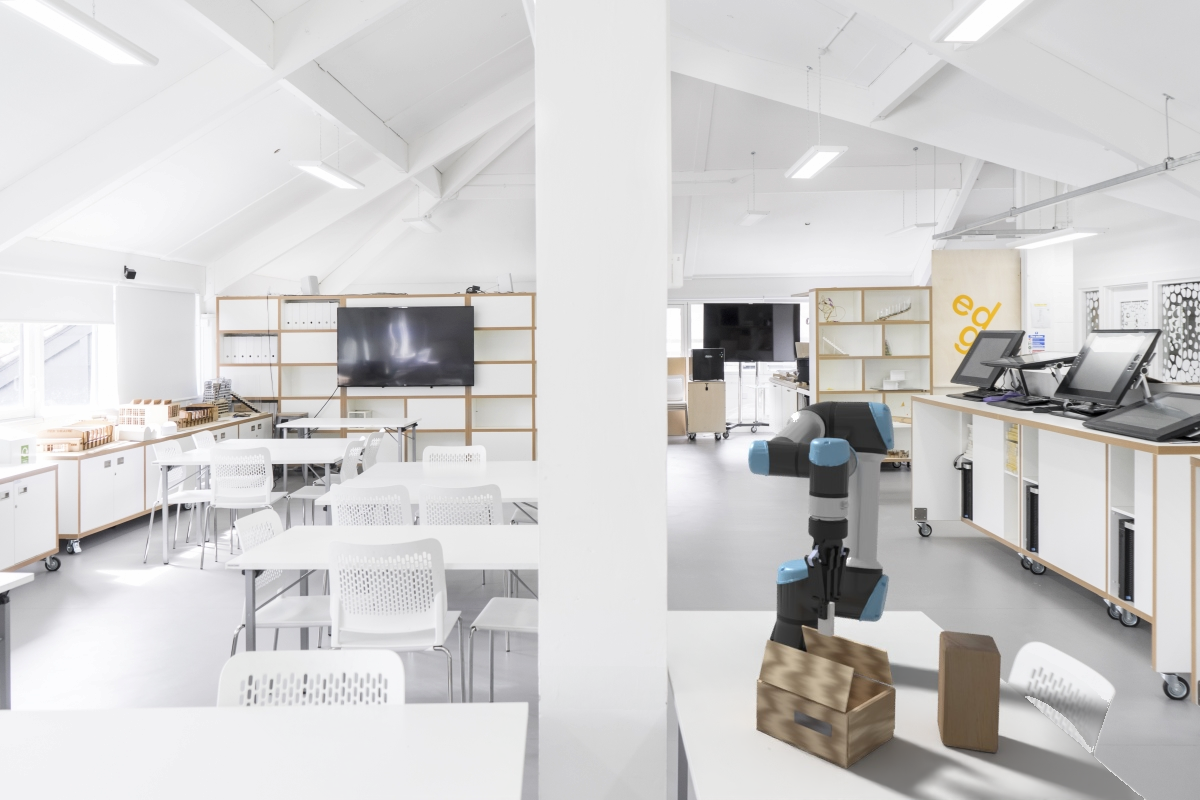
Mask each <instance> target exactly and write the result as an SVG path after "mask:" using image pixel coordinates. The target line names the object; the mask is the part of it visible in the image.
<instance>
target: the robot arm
mask: <svg viewBox="0 0 1200 800" xmlns="http://www.w3.org/2000/svg"><path fill="white" fill-rule="evenodd" d="M894 448H895V435H894V425H893V419H892V412H891V409H890V407H889V405H887V404H885V403H882V402H874V401H833V400H828V401H820V402H816V403H812V404H809V405H807V406H805V407H802V408H800V409H798V410H797V411H796V412H794V413H793V414H792V415H791V416H789V419H788V420H787V422H786V426H785V427H783V429H781V431H779V432H778V433H777V434H776V435H775V436H774V437H773V438H771V439H770V440H766V439H763V440H754V441H752V442H751V443H750V446H749V448H748V454H747V455H748V457H747V458H748V459H747V460H748V468H749V470H750V472H751V473H752V474H753V475H760V476H765V477H768V476H770V477H784V478H785V477H786V478H800V479H809V483H808V484H809V485H808V486H809V490H808V492H809V493H808V514H809V515H810V516H809V517H808V521H807V522H808V527H807V529H808V531H807V534H808V535H809V536H810V537H812V539H813V543H812V546H811V550H812V551H811V553H810V554H809V555H808V554H805V555H804V558H800V559H799V558H796V559H792V560H787V561H785V562H783V563H781V564H780V565H779V566H778V569H777V575H776V576H777V577H776V580H775V582H776V620H775V623H774V625H773V629H772V632H771V634H770V637H769V640H771V641H774V642H777V643H780V644H783V645H786V646H789V647H792V648H795V649H798V650H801V651H804V652H807V649H806V644H805V640H804V635H803V630H802V625H804V626H807V627H810V628H813V629H817V630H818V633H819V634H822V635H826V636H829V637H831V636H833V635H835V618H842V619H849V620H855V621H858V622H875V623H877V622H878V621H880V619H881V618H882V616H883V613H884V610H885V605H886V601H887V600H886V599H887V596H888V589H889V581H890V577H889V576H888V575H887V574H885V573H883V572H884V571H883V568H884V567H883V566H882V564H881V563H880V562H879V561H878V559H877V558H878V557H877V556H878V535H879V534H878V532H879V530H878V529H879V510H880V509H879V508H880V507H879V506H880V486H881V485H880V484H881V483H880V481H881V465H882V462H883V461H885V459H886V458H888V451H891V450H894Z"/></svg>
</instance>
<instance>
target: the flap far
mask: <svg viewBox="0 0 1200 800" xmlns="http://www.w3.org/2000/svg"><path fill="white" fill-rule="evenodd" d="M802 630H803V635H804V640H805V644H806V649H807V653H810V654H813V655H816V656H819V657H822V658H824V659H827V660H830V661H833V662H836V663H839V664H842V665H845V666H848V667H851V668H854V672H853V674H856V675H859V676H862V677H865V678H868V679H871V680H874V681H876V682H879V683H882V684H885V685H888V686H893V685H894V682H893V676H892V672H891V666H890V665H891V664H890V661H889V655H888V650H886V649H882V648H878V647H876V646H872V645H869V644H866V643H862V642H859V641H857V640H856V641H855V640H852V639H849V638H845V637H843V636H840V635H839V636H838V635H836V634H834V635H833V636H831V637H829V636H826V635H822V634H819V633H818V630H817V629H813V628H810V627H807V626H804V625H802Z"/></svg>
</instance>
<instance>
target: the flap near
mask: <svg viewBox="0 0 1200 800" xmlns="http://www.w3.org/2000/svg"><path fill="white" fill-rule="evenodd" d="M853 672H854V668H851V667H848V666H845V665H842V664H839V663H836V662H833V661H830V660H827V659H824V658H822V657H819V656H816V655H813V654H810V653H807V652H804V651H801V650H798V649H795V648H792V647H789V646H786V645H783V644H780V643H777V642H774V641H771V640H770V639H766V645H765V649H764V653H763V658H762V661H761V666H760V671H759V675H758V679H759V680H762V681H764V682H767V683H769V684H772V685H775V686H777V687H780V688H782V689H785V690H788V691H790V692H793V693H795V694H798V695H801V696H803V697H806V698H808V699H811V700H814V701H816V702H819V703H821V704H824V705H827V706H829V707H832V708H834V709H837V710H840V711H842V712H846V707H847V702H848V697H849V692H850V687H851V682H852V677H853V674H854V673H853Z"/></svg>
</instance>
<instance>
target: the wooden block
mask: <svg viewBox="0 0 1200 800" xmlns="http://www.w3.org/2000/svg"><path fill="white" fill-rule="evenodd" d="M938 641H939V644H938V646H939V647H938V649H939V650H938V680H937V681H938V684H937V686H938V687H937V717H936V718H937V720H936V721H937V726H938V731H939V737H940V741H941V743H942V745H944V746H946V747H947V746H948V747H954V748H961V749H967V750H974V751H980V752H987V753H992V754H993V753H996V752H997V750H998V749H999V728H1000V727H999V726H1000V692H1001V661H1002V660H1001V658H1002V656H1001V655H1002V654H1001V653H1000V651H999V648H998V646H997V644H996V642H995V640H994V637H993V636H991V635H985V634H978V633H971V632H970V633H969V632H968V633H967V632H960V631H959V632H958V631H950V630H943V631H940V634H939V640H938Z"/></svg>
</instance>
